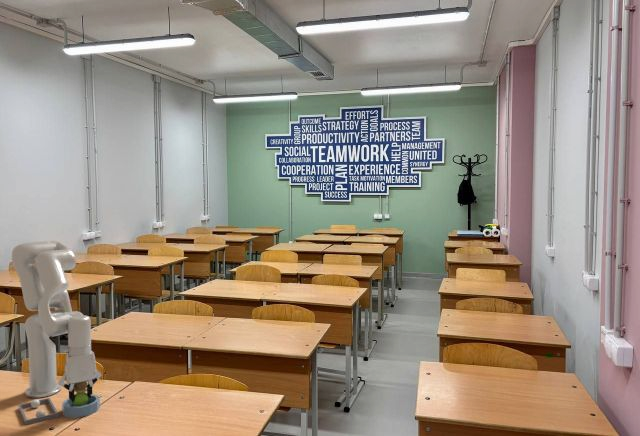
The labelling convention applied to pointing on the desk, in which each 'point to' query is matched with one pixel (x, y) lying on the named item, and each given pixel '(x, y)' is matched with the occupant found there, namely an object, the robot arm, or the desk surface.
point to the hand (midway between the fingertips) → (80, 398)
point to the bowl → (81, 407)
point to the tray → (38, 417)
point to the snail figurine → (80, 394)
